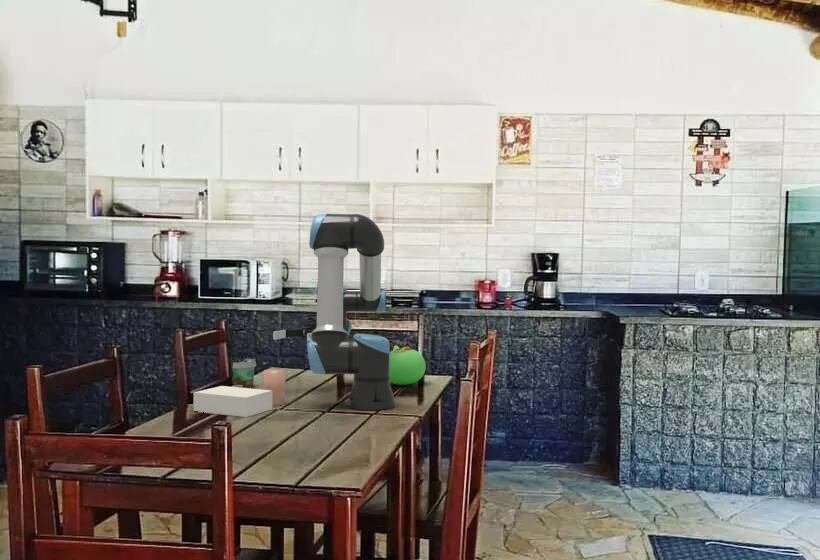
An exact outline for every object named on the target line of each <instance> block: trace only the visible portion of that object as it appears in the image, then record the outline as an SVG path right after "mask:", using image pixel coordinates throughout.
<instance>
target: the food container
mask: <svg viewBox="0 0 820 560" xmlns="http://www.w3.org/2000/svg"><path fill="white" fill-rule="evenodd" d="M256 367H257V363H256V360H255V359H254V358H253V359H252V358H245V360H244V361H239V362H234V361H233V362H232V369H233V370H232V371H233V387H239V388H250V387H253V388H254V380H255V368H256ZM250 389H251V388H250Z"/></svg>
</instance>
